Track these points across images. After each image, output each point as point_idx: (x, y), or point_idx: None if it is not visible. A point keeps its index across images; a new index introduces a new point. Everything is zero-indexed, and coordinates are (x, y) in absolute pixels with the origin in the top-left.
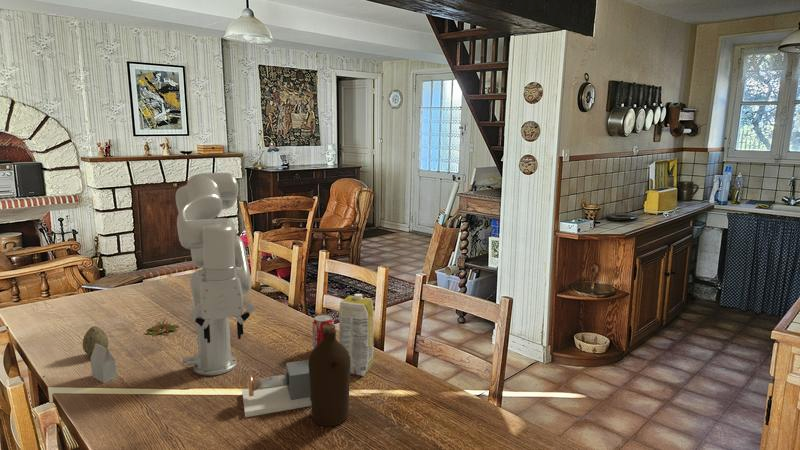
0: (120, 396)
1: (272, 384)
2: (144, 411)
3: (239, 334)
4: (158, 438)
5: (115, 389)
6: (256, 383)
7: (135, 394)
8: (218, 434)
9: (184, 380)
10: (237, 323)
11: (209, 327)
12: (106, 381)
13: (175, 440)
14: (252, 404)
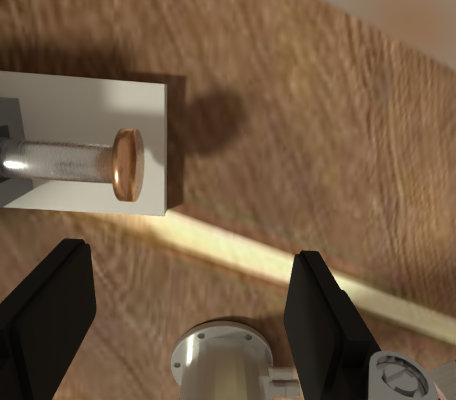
0: (436, 299)
1: (52, 141)
2: (403, 217)
3: (56, 258)
4: (398, 70)
5: (439, 330)
6: (105, 152)
7: (406, 297)
8: (248, 18)
9: None
10: (23, 377)
11: (323, 374)
12: (450, 364)
13: (361, 38)
14: (139, 120)
